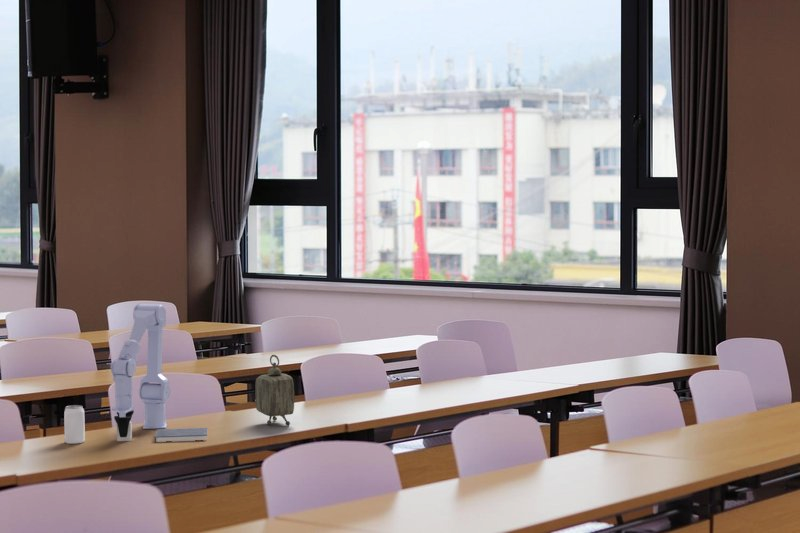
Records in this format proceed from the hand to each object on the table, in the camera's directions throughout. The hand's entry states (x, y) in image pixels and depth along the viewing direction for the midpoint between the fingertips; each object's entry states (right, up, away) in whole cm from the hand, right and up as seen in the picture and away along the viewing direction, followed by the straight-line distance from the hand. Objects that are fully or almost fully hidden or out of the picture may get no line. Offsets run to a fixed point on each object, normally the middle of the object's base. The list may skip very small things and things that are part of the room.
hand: (124, 434), depth 395 cm
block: (0, -2, 0) cm, 2 cm away
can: (-16, -2, -4) cm, 16 cm away
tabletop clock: (+48, 0, +26) cm, 54 cm away
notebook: (+19, -2, +3) cm, 19 cm away
